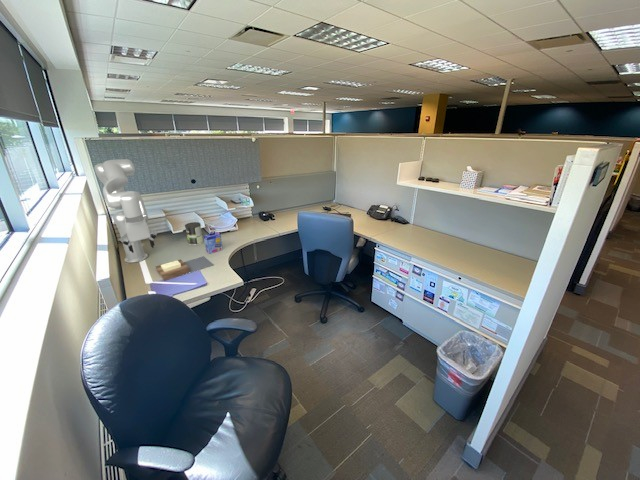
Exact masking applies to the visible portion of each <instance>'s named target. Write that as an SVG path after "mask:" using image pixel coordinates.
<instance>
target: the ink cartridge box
mask: <svg viewBox="0 0 640 480" xmlns="http://www.w3.org/2000/svg"><path fill="white" fill-rule="evenodd" d="M203 242H204V245H205V252H206V253H208V254H209V255H210V254H213V253H217V252H221V251H223V246H222V245H223V242H222V235H221V233H220V232H218V231H210V233H207V234H204V235H203Z"/></svg>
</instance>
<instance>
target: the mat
mask: <svg viewBox="0 0 640 480" xmlns="http://www.w3.org/2000/svg"><path fill="white" fill-rule="evenodd" d="M183 262H184V263H185V264H186V265H187V266H188V267H189V269H190V272H191V273H194V271H195V272H198V271H201V270H203V269H206V268H209V267H214V266H215V264H213V263H212V262H211V261H210V260H209V259H207V257H205V256H204V255H203V256H200V257H197V258H193V259H190V260H187V261H186V260H185V261H183ZM197 270H198V271H197Z"/></svg>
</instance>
